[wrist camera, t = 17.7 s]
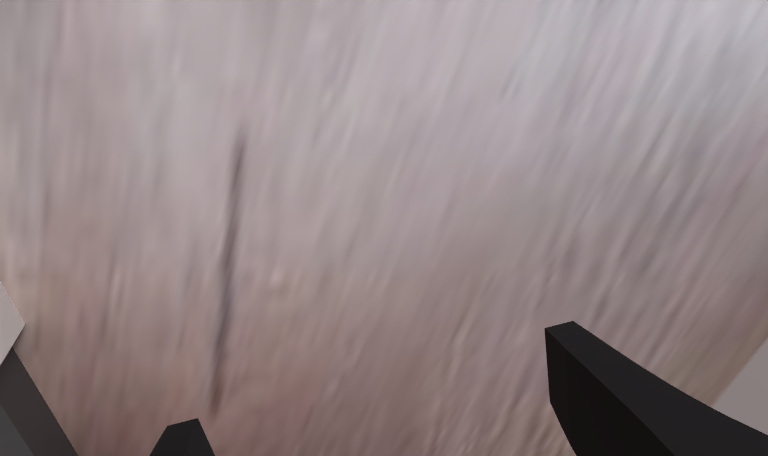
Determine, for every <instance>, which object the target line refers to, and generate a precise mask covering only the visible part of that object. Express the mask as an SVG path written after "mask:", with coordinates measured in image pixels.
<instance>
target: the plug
mask: <svg viewBox="0 0 768 456" xmlns="http://www.w3.org/2000/svg"><path fill="white" fill-rule="evenodd" d="M24 326H25V322H24V321H23V319H22V317H21V316H20V314H19V312H18V310H17V309H16V307H15V305H14V303H13V302H12V300H11V298H10V297H9V295H8V293H7V291H6V290H5V288H4V286H3V284H2V283H1V281H0V456H78V455H77V453H76V452H75V450H74V448H73V447H72V445H71V443H70V442H69V440H68V438H67V437H66V435H65V433H64V432H63V430H62V428H61V427H60V425H59V423H58V422H57V420H56V419H55V417H54V415H53V414H52V412H51V410H50V409H49V407H48V405H47V404H46V402H45V400H44V399H43V397H42V395H41V394H40V392H39V391H38V389H37V387H36V386H35V384H34V382H33V381H32V379H31V377H30V376H29V374H28V372H27V371H26V369H25V367H24V366H23V364H22V362H21V361H20V359H19V358H18V356H17V354H16V353H15V351H14V349H13V348H12V345H13V344H14V342H15V341H16V339H17V337H18V336H19V334H20V332H21V331H22V329H23V327H24Z"/></svg>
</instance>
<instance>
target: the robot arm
mask: <svg viewBox="0 0 768 456" xmlns="http://www.w3.org/2000/svg"><path fill="white" fill-rule="evenodd" d="M545 340H546V354H547V367H548V381H549V395H550V403H551V405H552V407H553V409H554V411H555V414H556V416H557V418H558V420H559V422H560V424H561V427H562V429H563V431H564V433H565V435H566V437H567V439H568V441H569V443H570V445H571V447H572V449H573V450H574V452H575V454H576V455H577V456H768V435H766V434H764V433H762V432H760V431H758V430H755V429H753V428H751V427H749V426H747V425H745V424H743V423H741V422H739V421H737V420H734V419H732V418H730V417H728V416H726V415H724V414H722V413H720V412H718V411H716V410H714V409H713V408H711V407H709V406H707V405H705V404H703V403H702V402H700V401H698V400H696V399H694V398H693V397H691V396H689V395H687V394H685V393H684V392H682V391H680V390H679V389H677V388H675V387H673V386H672V385H670V384H668V383H667V382H665V381H664V380H662V379H660V378H659V377H657V376H656V375H654V374H652V373H651V372H649V371H647V370H646V369H644V368H643V367H641V366H640V365H638V364H636V363H635V362H633V361H632V360H630V359H629V358H627V357H626V356H624V355H623V354H621V353H620V352H618V351H617V350H615V349H614V348H612V347H611V346H609V345H608V344H606V343H605V342H603V341H602V340H601V339H599V338H598V337H596V336H595V335H593V334H592V333H590V332H589V331H587V330H586V329H584V328H583V327H581V326H580V325H578V324H577V323H575V322H574V321H571V322H567V323H563V324H559V325H555V326H552V327H548V328H545ZM150 456H215V455H214V453H213V451H212V448H211V446H210V444H209V442H208V440H207V437H206V435H205V433H204V431H203V429H202V426H201V424H200V422H199V420H198V418H197V419H193V420H189V421H185V422H181V423H177V424H173V425H170V426H167V428H166V429H165V431H164V432H163V434H162V436H161V437H160V439H159V441H158V442H157V444H156V446H155V447H154V449H153V451H152V453H151V454H150Z"/></svg>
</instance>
